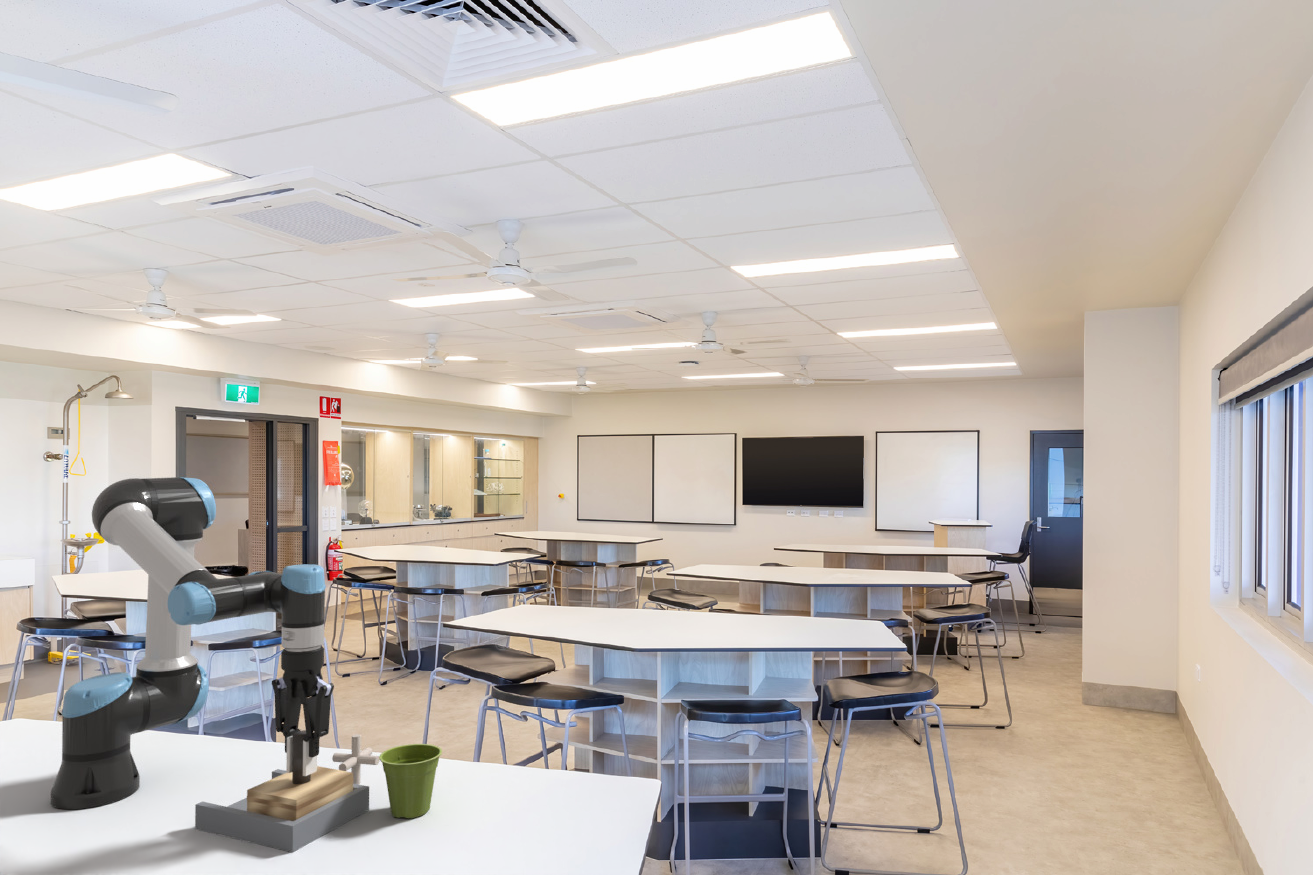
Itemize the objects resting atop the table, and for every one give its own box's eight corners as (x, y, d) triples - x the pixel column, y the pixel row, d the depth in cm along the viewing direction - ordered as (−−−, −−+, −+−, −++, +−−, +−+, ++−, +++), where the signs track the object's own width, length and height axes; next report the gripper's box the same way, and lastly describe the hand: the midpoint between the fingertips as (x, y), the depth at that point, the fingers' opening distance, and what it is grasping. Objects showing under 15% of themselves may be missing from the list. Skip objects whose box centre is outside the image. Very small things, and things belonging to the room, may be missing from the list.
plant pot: (454, 806, 164) (455, 748, 164) (410, 829, 153) (411, 768, 154) (410, 794, 169) (410, 739, 170) (365, 816, 159) (365, 757, 159)
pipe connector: (364, 794, 169) (364, 745, 170) (320, 790, 171) (321, 741, 172) (389, 775, 179) (389, 729, 180) (347, 772, 181) (348, 726, 182)
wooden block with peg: (246, 822, 152) (247, 740, 152) (305, 794, 165) (306, 718, 165) (296, 834, 147) (297, 749, 148) (353, 803, 160) (353, 725, 161)
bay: (195, 828, 154) (195, 804, 154) (277, 790, 171) (277, 769, 171) (292, 852, 144) (292, 826, 145) (369, 809, 162) (369, 786, 162)
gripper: (254, 647, 157) (253, 772, 156) (321, 655, 150) (319, 785, 150) (286, 639, 164) (284, 759, 163) (351, 646, 157) (349, 771, 157)
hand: (301, 771), depth 156 cm, fingers open, 3 cm apart
